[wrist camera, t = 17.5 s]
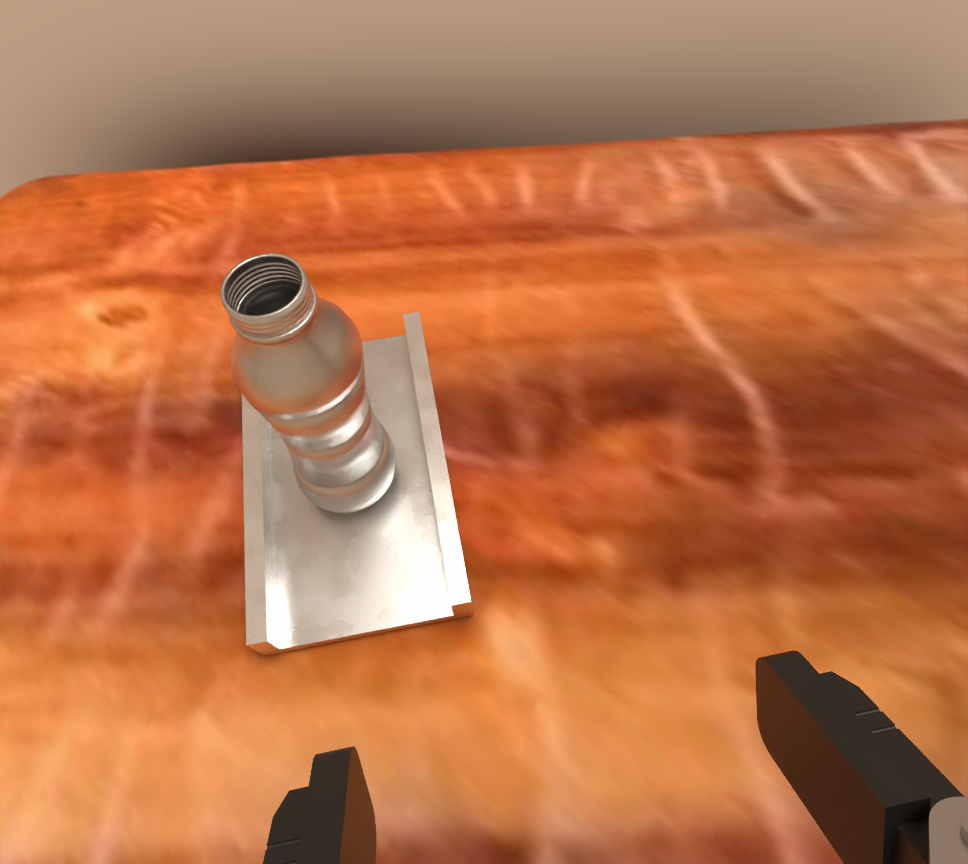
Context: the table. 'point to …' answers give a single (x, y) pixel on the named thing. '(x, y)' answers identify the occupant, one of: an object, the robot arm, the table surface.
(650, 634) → the table surface
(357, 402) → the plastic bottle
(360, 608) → the aluminium track
